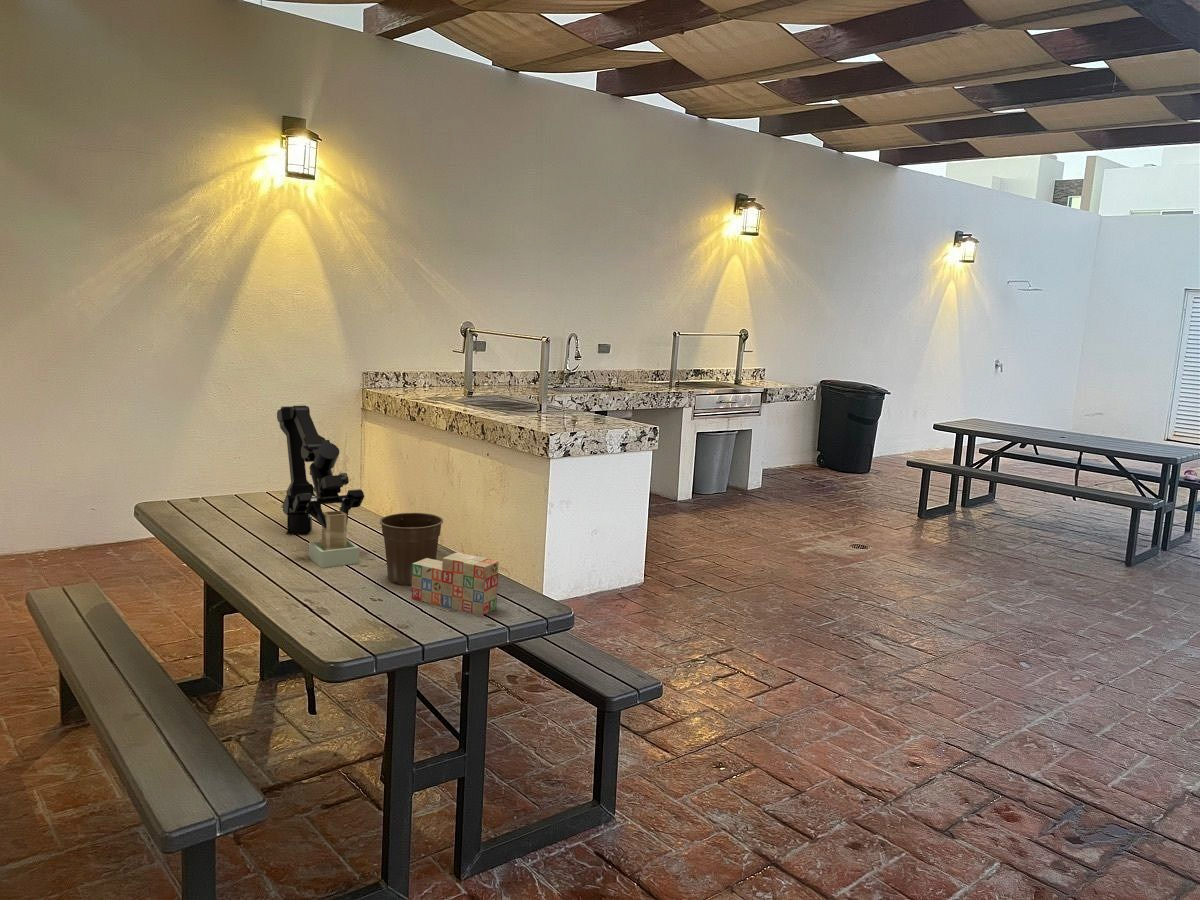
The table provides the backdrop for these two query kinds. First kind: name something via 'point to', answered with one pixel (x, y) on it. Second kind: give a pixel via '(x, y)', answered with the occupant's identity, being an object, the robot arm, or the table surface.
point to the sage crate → (333, 555)
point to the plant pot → (409, 542)
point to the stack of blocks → (457, 582)
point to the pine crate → (334, 530)
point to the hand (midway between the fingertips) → (335, 526)
